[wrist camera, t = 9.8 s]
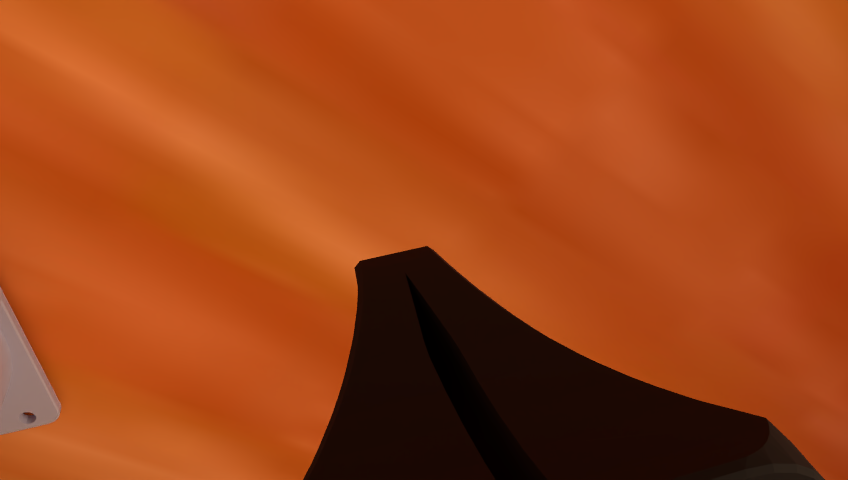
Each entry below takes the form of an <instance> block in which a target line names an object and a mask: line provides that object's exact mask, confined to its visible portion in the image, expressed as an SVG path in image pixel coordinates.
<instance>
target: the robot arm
mask: <svg viewBox="0 0 848 480" xmlns="http://www.w3.org/2000/svg"><path fill="white" fill-rule="evenodd" d="M355 273H356V278H357V284H358V302H357V313H356V321H355V329H354V336H353V341H352V346H351V350H350V355H349V359H348V363H347V368H346V372H345V376H344V379H343V383H342V386H341V390H340V393H339V396H338V399H337V402H336V405H335V408H334V411H333V414H332V416H331V419H330V421H329V424H328V426H327V429H326V431H325V434H324V436H323V439H322V441H321V444H320V446H319V448H318V451H317V453H316V455H315V457H314V459H313V461H312V464H311V466H310V467H309V469H308V471H307V473H306V475H305V477H304V479H303V480H825V479H824V478H823V477H822V476H821V475H820V474H819V473H818V472H817V471H816V469H815V468H814V467H813V466H812V465H811V464H810V463H809V462H808V461H807V460H806V458H805V457H804V456H803V455H802V454H801V452H800V451H799V450H798V449H797V448H796V447H795V446H794V445H793V444H792V443H791V441H789V440H788V439H787V438H786V437H785V436H784V435H783V434H782V433H781V432H780V431H779V430H778V429H777V428H776V427H775V426H774V425H773V424H772V423H771V422H770V421H768V420H767V419H766V418H764V417H760V416H756V415H753V414H749V413H745V412H741V411H737V410H733V409H729V408H726V407H722V406H718V405H714V404H710V403H706V402H702V401H699V400H696V399H692V398H689V397H686V396H683V395H680V394H677V393H674V392H671V391H668V390H665V389H662V388H659V387H656V386H653V385H651V384H648V383H645V382H643V381H640V380H637V379H635V378H632V377H630V376H627V375H625V374H623V373H620V372H618V371H616V370H613V369H611V368H609V367H606V366H604V365H602V364H599V363H597V362H595V361H593V360H591V359H589V358H587V357H584V356H582V355H580V354H578V353H576V352H575V351H573V350H571V349H569V348H567V347H565V346H563V345H561V344H560V343H558V342H556V341H554V340H552V339H550V338H548V337H547V336H545V335H543V334H542V333H540V332H539V331H537V330H535V329H534V328H532V327H531V326H529V325H528V324H526V323H525V322H523V321H522V320H520V319H519V318H517V317H516V316H514V315H513V314H511V313H510V312H509V311H507V310H506V309H504V308H503V307H501V306H500V305H499V304H497V303H496V302H495V301H494V300H492V299H491V298H490V297H488V296H487V295H486V294H484V293H483V292H482V291H480V290H479V289H478V288H477V287H475V286H474V285H473V284H472V283H470V282H469V281H468V280H467V279H466V278H464V277H463V276H462V275H461V274H460V273H458V272H457V271H456V270H455V269H454V268H453V267H451V266H450V265H449V264H448V263H447V262H446V261H445V260H444V259H443V258H441V257H440V256H439V255H438V254H437V253H436V252H435V251H434V250H432V249H431V248H429V247H428V246H425V247H421V248H416V249H412V250H407V251H403V252H398V253H394V254H389V255H385V256H380V257H376V258H371V259H367V260H362V261H360V262H359V263H358V264H357V265H356V267H355ZM60 411H61V404H60V402H59V400H58V398H57V396H56V394H55V392H54V390H53V388H52V386H51V384H50V382H49V380H48V378H47V376H46V375H45V373H44V371H43V369H42V367H41V365H40V363H39V361H38V359H37V357H36V355H35V353H34V351H33V349H32V347H31V345H30V343H29V342H28V340H27V338H26V336H25V334H24V332H23V330H22V328H21V326H20V324H19V322H18V320H17V318H16V316H15V314H14V312H13V310H12V308H11V307H10V305H9V303H8V301H7V299H6V297H5V295H4V293H3V291H2V289H1V287H0V435H3V434H7V433H11V432H16V431H20V430H24V429H28V428H33V427H37V426H41V425H45V424H49V423H52V422H54V421H55V420H57V419H58V417H59V415H60ZM24 412H30V413H33V414H34V415H25V414H24Z"/></svg>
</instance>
